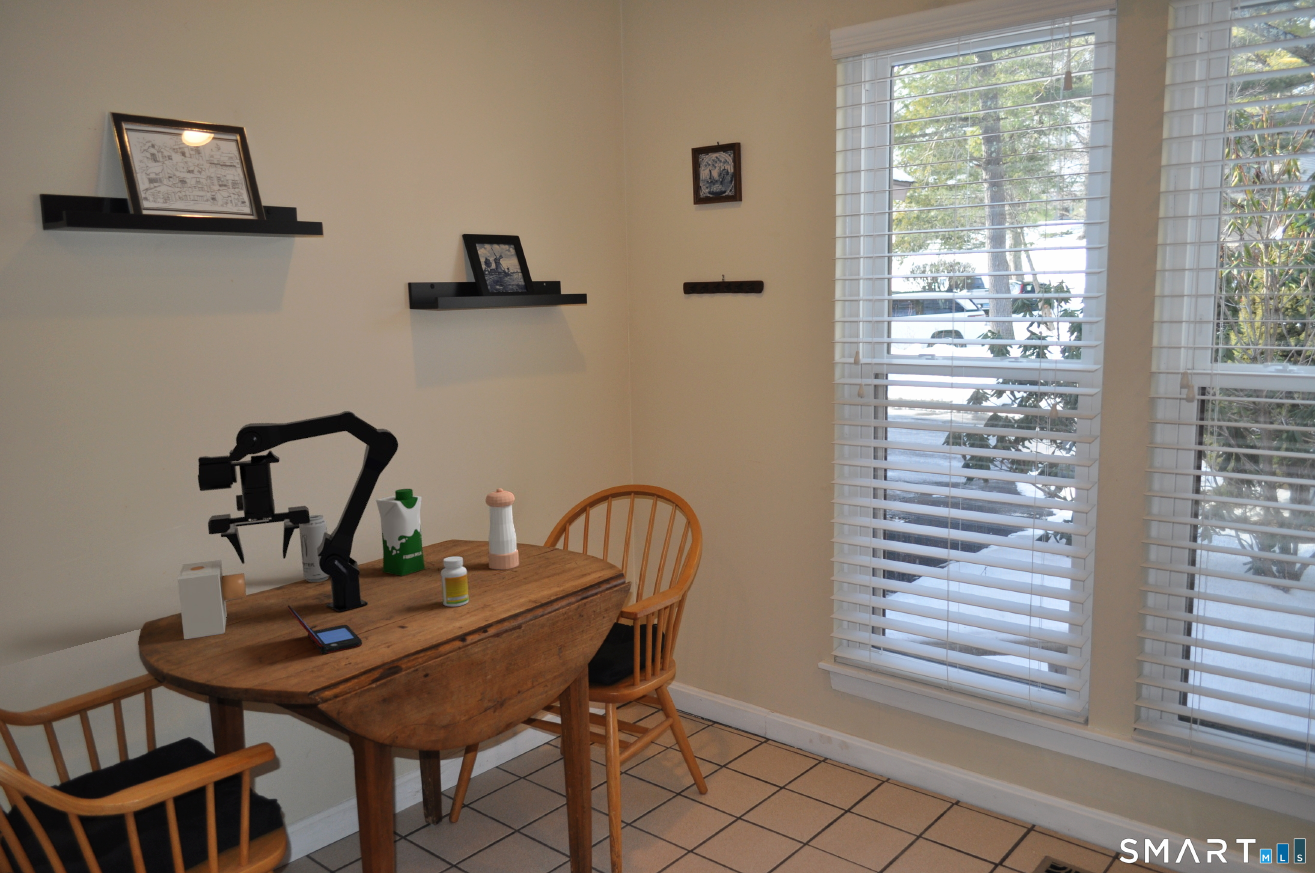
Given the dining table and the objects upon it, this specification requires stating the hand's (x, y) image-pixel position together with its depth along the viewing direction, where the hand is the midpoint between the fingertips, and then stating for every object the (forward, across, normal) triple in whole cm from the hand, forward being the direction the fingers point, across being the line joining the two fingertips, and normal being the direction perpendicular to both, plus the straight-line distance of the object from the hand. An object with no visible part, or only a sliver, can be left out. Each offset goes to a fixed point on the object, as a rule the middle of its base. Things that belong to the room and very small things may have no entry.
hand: (264, 560), depth 182 cm
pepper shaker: (+12, -53, -14) cm, 56 cm away
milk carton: (+12, -30, -22) cm, 39 cm away
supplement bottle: (+12, -36, +10) cm, 40 cm away
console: (+12, +12, 0) cm, 17 cm away
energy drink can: (+12, -10, -25) cm, 29 cm away
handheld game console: (+12, -10, +22) cm, 27 cm away
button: (+7, +6, 0) cm, 9 cm away
